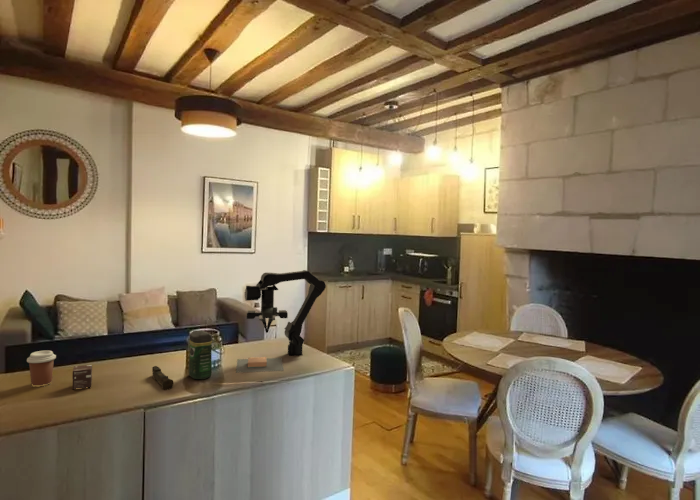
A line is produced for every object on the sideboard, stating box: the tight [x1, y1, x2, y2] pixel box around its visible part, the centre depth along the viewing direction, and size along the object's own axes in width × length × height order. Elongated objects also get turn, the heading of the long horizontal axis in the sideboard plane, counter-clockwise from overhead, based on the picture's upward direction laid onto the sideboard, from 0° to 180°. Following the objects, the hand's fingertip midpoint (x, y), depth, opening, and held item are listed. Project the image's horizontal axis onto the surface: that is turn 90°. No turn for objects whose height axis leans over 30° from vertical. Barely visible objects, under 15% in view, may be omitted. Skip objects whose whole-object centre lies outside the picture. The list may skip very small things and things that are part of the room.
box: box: [72, 364, 93, 390], centre depth 165 cm, size 6×6×7 cm
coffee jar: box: [188, 329, 213, 380], centre depth 179 cm, size 10×8×19 cm
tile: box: [247, 356, 267, 368], centre depth 194 cm, size 2×7×8 cm
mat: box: [235, 357, 284, 373], centre depth 195 cm, size 20×18×1 cm
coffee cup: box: [26, 349, 57, 385], centre depth 166 cm, size 9×9×12 cm
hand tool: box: [151, 365, 174, 391], centre depth 172 cm, size 19×4×5 cm, turn 37°
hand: (266, 332), depth 206 cm, fingers closed
